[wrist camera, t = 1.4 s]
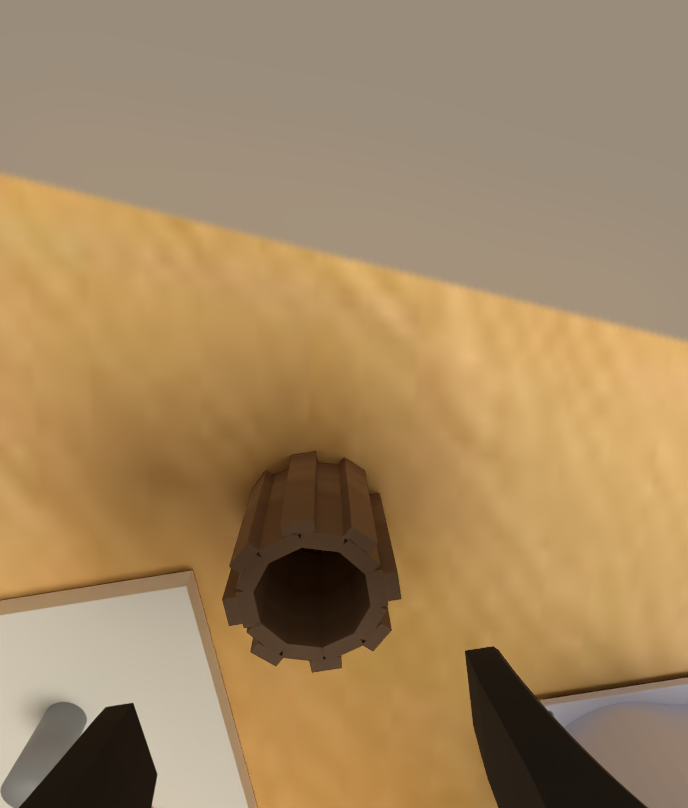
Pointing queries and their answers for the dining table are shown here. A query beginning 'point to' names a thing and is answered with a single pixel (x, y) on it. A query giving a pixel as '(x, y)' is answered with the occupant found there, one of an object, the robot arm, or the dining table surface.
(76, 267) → the dining table surface
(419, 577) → the dining table surface
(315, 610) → the walnut pinion gear
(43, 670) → the gear board
